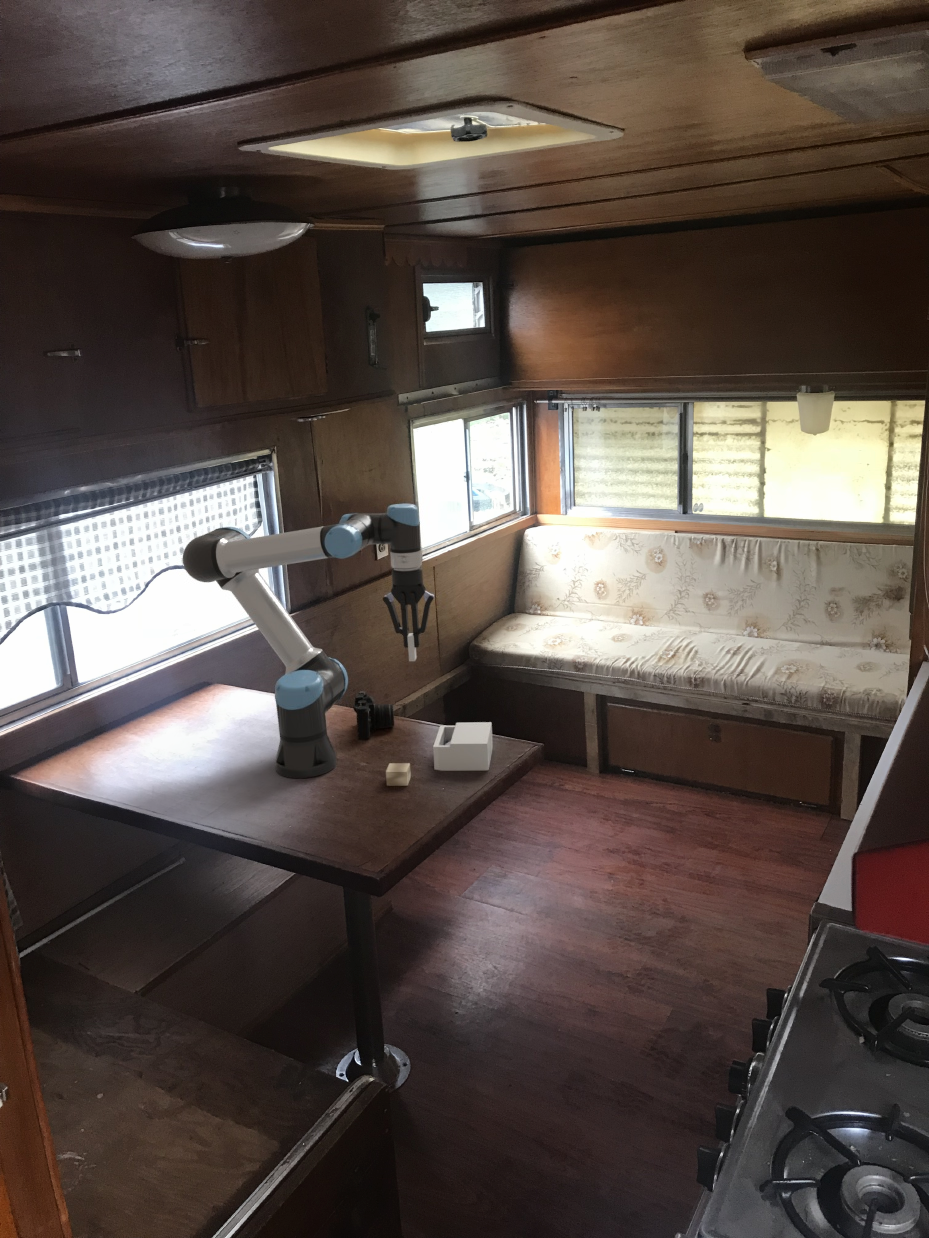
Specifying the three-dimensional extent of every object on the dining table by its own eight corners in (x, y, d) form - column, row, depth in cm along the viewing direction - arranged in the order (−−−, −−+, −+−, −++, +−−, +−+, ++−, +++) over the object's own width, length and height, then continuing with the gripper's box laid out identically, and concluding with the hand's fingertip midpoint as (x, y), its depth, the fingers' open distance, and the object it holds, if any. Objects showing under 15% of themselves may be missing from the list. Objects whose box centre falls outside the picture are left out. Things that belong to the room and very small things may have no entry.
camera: (394, 738, 263) (392, 703, 260) (354, 741, 262) (351, 706, 260) (394, 719, 276) (392, 686, 274) (356, 722, 276) (353, 688, 273)
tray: (432, 769, 241) (430, 746, 240) (439, 747, 255) (437, 725, 253) (482, 769, 240) (481, 746, 238) (487, 747, 253) (486, 725, 252)
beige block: (386, 785, 234) (385, 771, 233) (390, 776, 239) (389, 763, 238) (407, 785, 234) (406, 771, 233) (410, 776, 238) (410, 763, 238)
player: (439, 770, 241) (437, 743, 239) (446, 748, 254) (444, 722, 253) (488, 770, 240) (487, 743, 238) (492, 747, 253) (491, 722, 251)
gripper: (377, 571, 239) (384, 664, 245) (431, 570, 237) (436, 663, 244) (383, 565, 246) (389, 655, 252) (435, 563, 245) (440, 654, 251)
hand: (412, 659), depth 248 cm, fingers closed
